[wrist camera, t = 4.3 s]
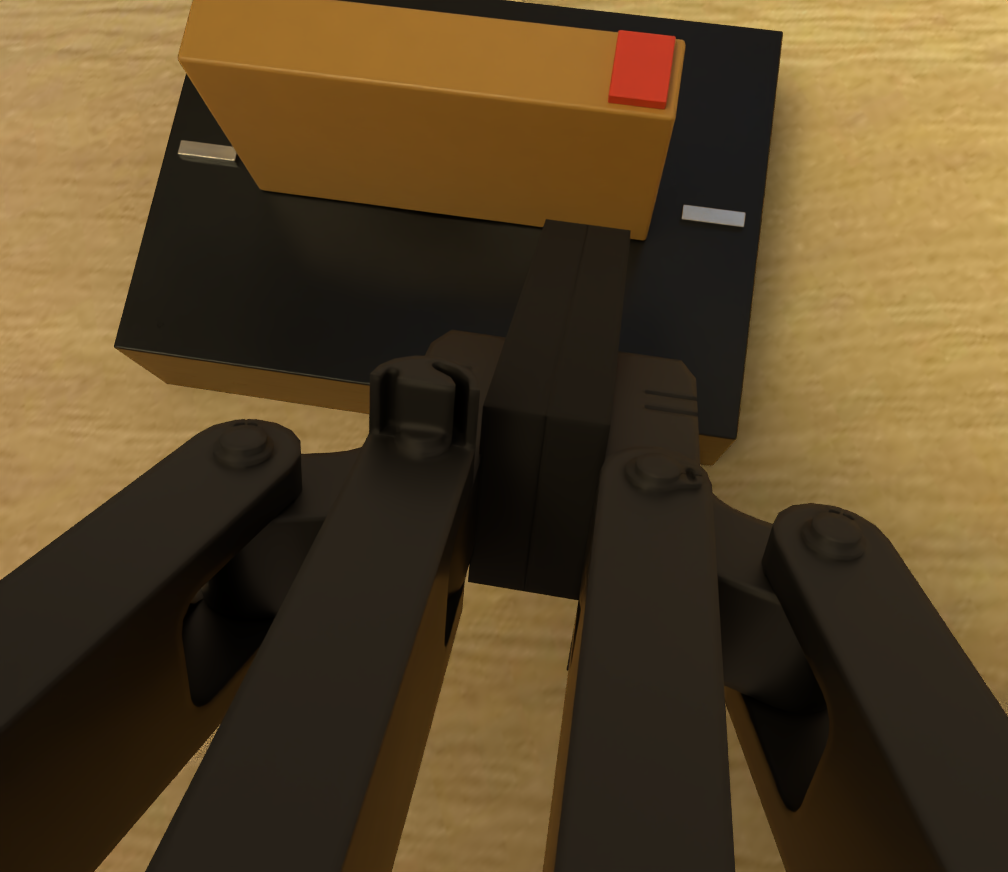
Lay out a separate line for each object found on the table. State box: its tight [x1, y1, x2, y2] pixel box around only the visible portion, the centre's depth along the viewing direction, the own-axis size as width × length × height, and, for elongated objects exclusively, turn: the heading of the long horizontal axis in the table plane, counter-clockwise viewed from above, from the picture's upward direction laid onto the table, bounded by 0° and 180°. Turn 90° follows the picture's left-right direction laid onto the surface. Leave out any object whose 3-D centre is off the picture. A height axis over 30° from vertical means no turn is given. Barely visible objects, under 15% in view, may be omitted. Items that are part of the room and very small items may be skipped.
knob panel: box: [114, 0, 783, 466], centre depth 23 cm, size 14×13×3 cm
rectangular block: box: [178, 0, 686, 240], centre depth 19 cm, size 9×2×5 cm, turn 81°
